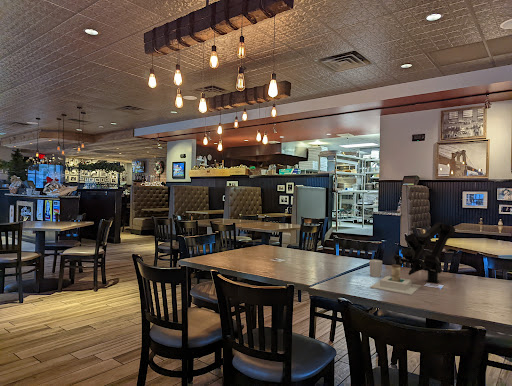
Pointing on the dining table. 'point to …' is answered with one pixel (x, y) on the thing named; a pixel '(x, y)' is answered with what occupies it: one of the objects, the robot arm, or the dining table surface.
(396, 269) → the tan cylinder
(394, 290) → the cream stepped platform
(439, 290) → the dining table surface
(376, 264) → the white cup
